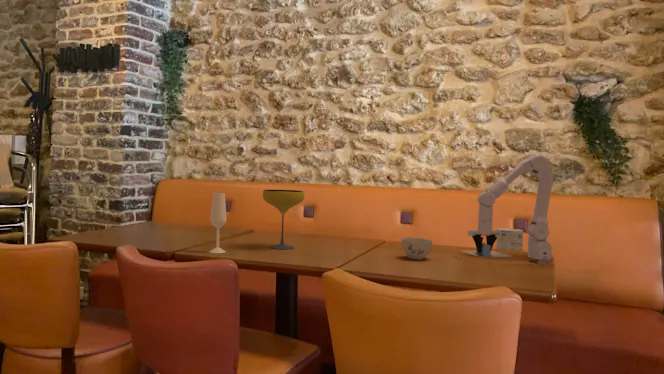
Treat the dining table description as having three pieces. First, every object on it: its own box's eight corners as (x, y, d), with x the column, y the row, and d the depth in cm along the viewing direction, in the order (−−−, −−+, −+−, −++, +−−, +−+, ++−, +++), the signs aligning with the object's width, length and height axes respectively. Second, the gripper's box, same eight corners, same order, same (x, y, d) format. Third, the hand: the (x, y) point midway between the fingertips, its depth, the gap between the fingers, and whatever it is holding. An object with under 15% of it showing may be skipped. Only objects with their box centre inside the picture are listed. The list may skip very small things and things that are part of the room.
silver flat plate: (513, 260, 224) (513, 256, 224) (477, 260, 220) (478, 256, 220) (491, 253, 240) (492, 250, 240) (459, 253, 237) (459, 250, 237)
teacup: (427, 262, 212) (428, 242, 211) (396, 259, 217) (397, 239, 217) (436, 257, 225) (437, 238, 225) (407, 254, 231) (408, 235, 230)
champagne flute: (227, 250, 222) (229, 193, 221) (223, 253, 216) (224, 193, 215) (212, 250, 223) (213, 192, 222) (206, 252, 216) (208, 193, 215)
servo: (492, 260, 222) (493, 244, 222) (485, 260, 221) (486, 244, 221) (481, 256, 231) (482, 241, 230) (474, 256, 230) (475, 241, 230)
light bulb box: (519, 252, 248) (520, 228, 247) (522, 254, 241) (524, 230, 241) (495, 250, 249) (496, 227, 249) (498, 253, 242) (499, 229, 242)
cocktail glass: (256, 245, 241) (257, 189, 240) (293, 243, 248) (295, 189, 247) (268, 251, 224) (270, 191, 223) (308, 250, 232) (310, 192, 231)
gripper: (496, 219, 231) (494, 251, 231) (464, 219, 227) (463, 251, 228) (504, 221, 224) (503, 253, 224) (473, 221, 220) (471, 254, 221)
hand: (483, 252), depth 226 cm, fingers open, 4 cm apart
